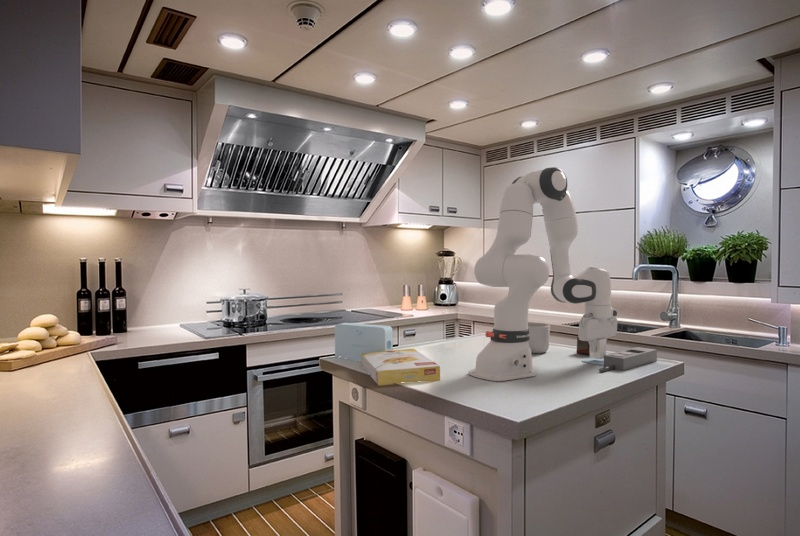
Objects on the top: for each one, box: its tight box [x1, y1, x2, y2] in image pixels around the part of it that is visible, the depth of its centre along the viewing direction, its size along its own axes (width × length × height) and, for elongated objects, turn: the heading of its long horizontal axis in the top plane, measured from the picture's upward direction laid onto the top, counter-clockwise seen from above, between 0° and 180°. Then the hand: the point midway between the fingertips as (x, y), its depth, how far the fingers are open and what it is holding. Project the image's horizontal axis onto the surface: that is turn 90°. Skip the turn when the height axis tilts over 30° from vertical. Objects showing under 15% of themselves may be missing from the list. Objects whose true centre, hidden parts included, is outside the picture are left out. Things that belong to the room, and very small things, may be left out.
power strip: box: [598, 346, 658, 373], centre depth 169 cm, size 33×7×4 cm, turn 128°
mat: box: [581, 357, 604, 366], centre depth 175 cm, size 8×8×1 cm
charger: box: [589, 338, 607, 359], centre depth 175 cm, size 4×4×7 cm
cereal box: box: [360, 348, 441, 386], centre depth 162 cm, size 20×6×28 cm
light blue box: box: [334, 322, 394, 361], centre depth 183 cm, size 23×6×13 cm, turn 59°
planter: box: [528, 322, 551, 354], centre depth 195 cm, size 12×12×11 cm
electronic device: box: [576, 336, 590, 356], centre depth 188 cm, size 4×10×8 cm, turn 44°
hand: (597, 350), depth 175 cm, fingers closed on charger, 4 cm apart
